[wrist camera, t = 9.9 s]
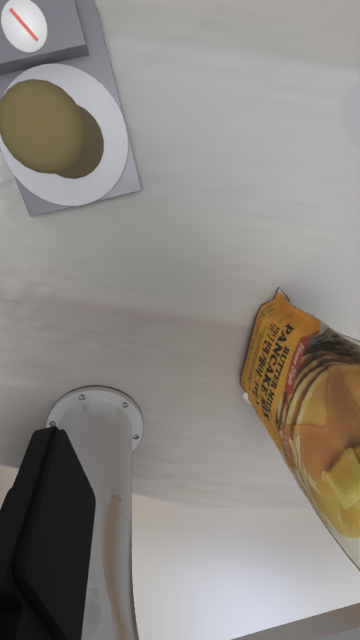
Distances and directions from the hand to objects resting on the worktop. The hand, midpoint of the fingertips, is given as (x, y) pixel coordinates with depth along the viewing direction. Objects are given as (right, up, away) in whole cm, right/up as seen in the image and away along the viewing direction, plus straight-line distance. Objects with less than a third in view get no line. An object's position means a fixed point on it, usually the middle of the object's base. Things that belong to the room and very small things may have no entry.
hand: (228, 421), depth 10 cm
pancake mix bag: (+10, -1, +35) cm, 37 cm away
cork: (-11, +19, +20) cm, 30 cm away
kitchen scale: (-12, +22, +22) cm, 34 cm away
